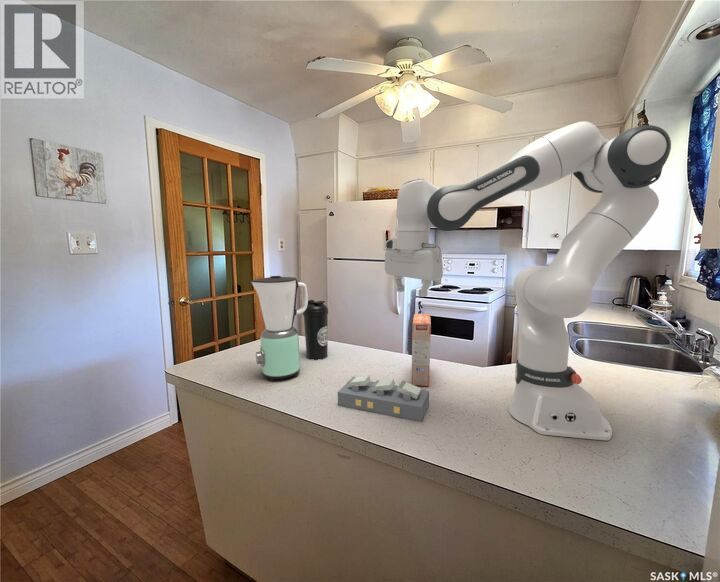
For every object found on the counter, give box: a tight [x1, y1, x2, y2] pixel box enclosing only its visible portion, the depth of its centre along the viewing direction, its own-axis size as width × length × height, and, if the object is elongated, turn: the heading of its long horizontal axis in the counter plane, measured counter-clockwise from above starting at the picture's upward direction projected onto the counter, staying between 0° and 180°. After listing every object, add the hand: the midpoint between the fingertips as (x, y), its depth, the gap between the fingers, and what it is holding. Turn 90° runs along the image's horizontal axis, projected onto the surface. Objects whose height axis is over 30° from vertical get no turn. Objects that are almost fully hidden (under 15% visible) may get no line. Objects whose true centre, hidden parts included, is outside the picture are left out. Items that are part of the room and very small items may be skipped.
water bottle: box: [302, 299, 329, 361], centre depth 132 cm, size 10×10×23 cm
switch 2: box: [371, 378, 396, 392], centre depth 93 cm, size 6×4×2 cm
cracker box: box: [411, 313, 432, 387], centre depth 110 cm, size 14×6×21 cm, turn 168°
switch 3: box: [397, 379, 422, 399], centre depth 90 cm, size 6×4×2 cm
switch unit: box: [337, 380, 430, 423], centre depth 93 cm, size 24×10×6 cm, turn 67°
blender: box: [250, 275, 309, 383], centre depth 114 cm, size 19×13×35 cm
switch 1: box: [346, 375, 371, 387], centre depth 95 cm, size 6×4×2 cm
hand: (411, 293), depth 90 cm, fingers open, 8 cm apart
